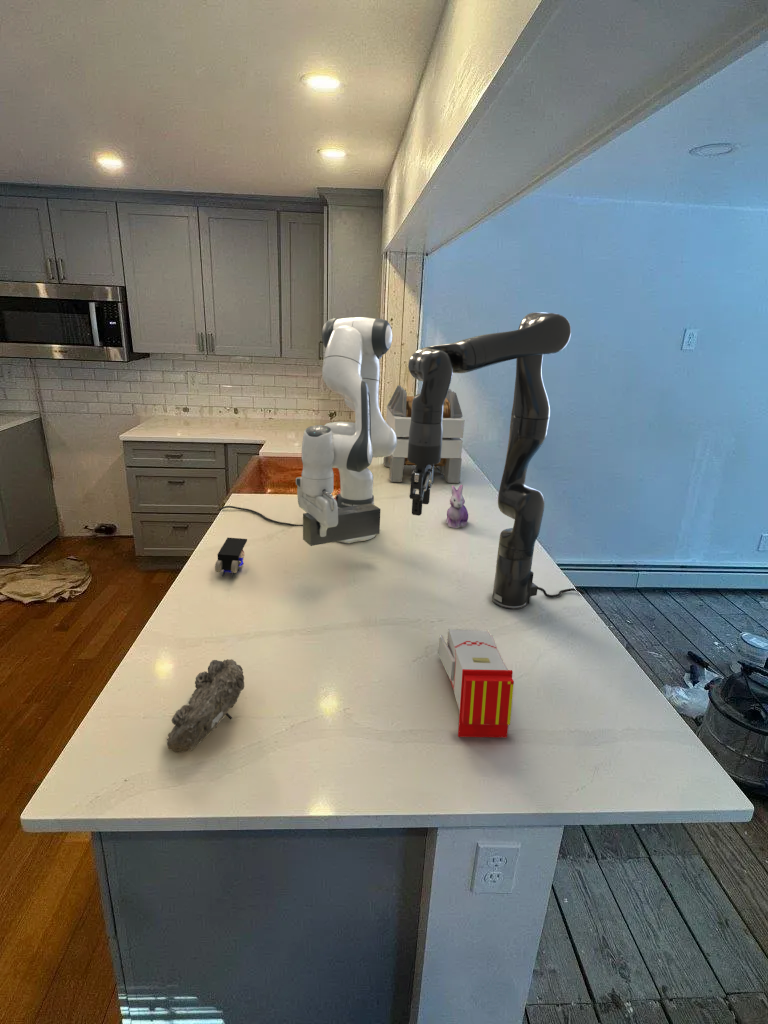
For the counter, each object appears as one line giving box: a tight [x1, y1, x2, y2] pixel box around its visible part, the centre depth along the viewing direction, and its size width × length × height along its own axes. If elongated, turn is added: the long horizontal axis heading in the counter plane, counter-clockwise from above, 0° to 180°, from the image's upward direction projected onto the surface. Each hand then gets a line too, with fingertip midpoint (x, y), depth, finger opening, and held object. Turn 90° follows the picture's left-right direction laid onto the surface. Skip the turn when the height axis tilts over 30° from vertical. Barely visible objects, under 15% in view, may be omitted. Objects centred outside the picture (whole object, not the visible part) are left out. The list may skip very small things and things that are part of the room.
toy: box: [437, 628, 515, 738], centre depth 117 cm, size 12×13×30 cm
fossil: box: [166, 658, 245, 754], centre depth 106 cm, size 22×10×15 cm
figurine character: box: [214, 537, 248, 578], centre depth 166 cm, size 7×8×15 cm
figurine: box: [445, 484, 469, 529], centre depth 209 cm, size 9×10×15 cm
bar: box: [302, 503, 382, 547], centre depth 165 cm, size 22×6×8 cm, turn 121°
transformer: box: [383, 384, 465, 484], centre depth 268 cm, size 34×33×41 cm
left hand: (317, 531), depth 162 cm, fingers closed on bar, 5 cm apart
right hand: (420, 509), depth 133 cm, fingers open, 8 cm apart
